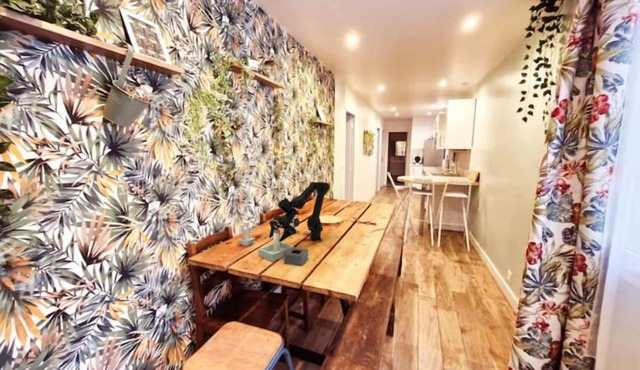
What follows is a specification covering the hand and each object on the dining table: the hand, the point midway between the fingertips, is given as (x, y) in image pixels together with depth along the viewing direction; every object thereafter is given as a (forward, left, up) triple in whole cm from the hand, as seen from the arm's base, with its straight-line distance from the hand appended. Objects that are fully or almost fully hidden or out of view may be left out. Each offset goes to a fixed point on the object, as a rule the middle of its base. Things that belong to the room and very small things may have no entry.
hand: (274, 239), depth 146 cm
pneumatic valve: (-24, -35, -9) cm, 43 cm away
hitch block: (-8, +12, -9) cm, 17 cm away
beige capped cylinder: (-1, -1, -8) cm, 8 cm away
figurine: (+11, -24, -9) cm, 27 cm away
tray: (-1, -1, -9) cm, 9 cm away
